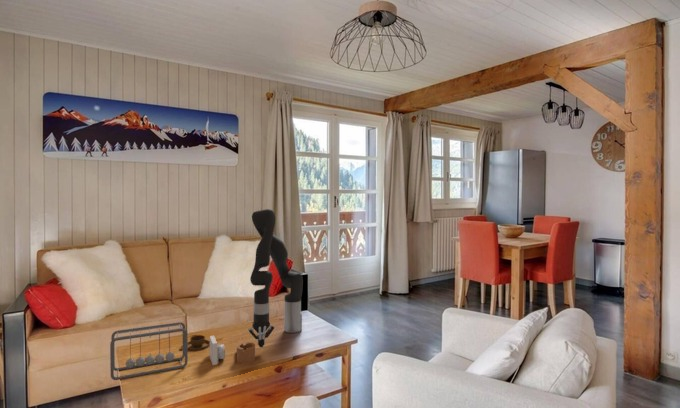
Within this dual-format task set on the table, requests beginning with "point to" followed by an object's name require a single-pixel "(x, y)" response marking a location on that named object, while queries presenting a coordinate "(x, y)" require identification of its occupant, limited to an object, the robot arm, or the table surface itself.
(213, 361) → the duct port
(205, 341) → the place setting
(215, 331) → the table surface
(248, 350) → the bracket
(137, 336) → the newton's cradle
